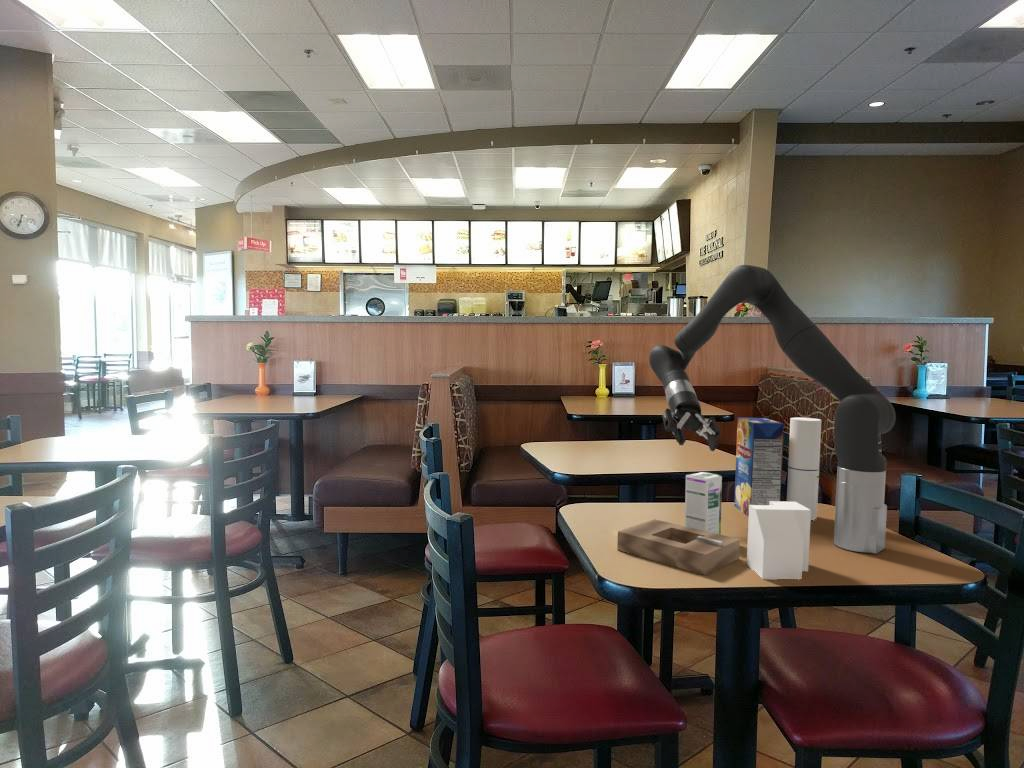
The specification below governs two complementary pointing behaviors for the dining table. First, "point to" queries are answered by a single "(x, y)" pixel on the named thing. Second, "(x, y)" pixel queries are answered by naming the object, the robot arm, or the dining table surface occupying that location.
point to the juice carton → (758, 462)
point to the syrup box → (703, 502)
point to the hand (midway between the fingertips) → (698, 445)
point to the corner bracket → (778, 539)
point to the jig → (679, 546)
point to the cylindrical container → (804, 462)
